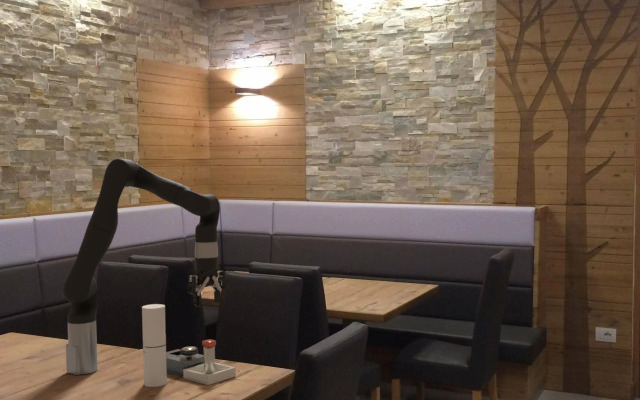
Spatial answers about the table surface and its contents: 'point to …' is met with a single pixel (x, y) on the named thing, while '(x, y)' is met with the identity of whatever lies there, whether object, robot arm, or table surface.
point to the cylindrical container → (154, 345)
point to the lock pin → (209, 356)
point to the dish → (198, 374)
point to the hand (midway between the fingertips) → (207, 304)
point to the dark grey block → (182, 360)
